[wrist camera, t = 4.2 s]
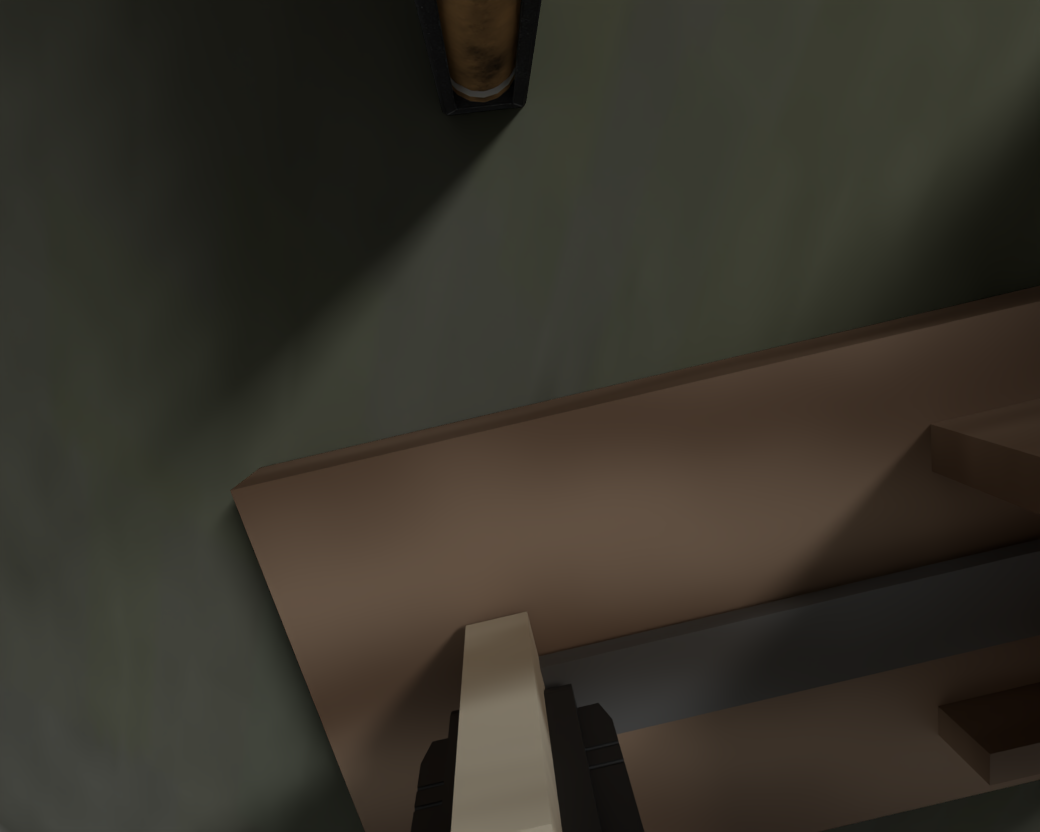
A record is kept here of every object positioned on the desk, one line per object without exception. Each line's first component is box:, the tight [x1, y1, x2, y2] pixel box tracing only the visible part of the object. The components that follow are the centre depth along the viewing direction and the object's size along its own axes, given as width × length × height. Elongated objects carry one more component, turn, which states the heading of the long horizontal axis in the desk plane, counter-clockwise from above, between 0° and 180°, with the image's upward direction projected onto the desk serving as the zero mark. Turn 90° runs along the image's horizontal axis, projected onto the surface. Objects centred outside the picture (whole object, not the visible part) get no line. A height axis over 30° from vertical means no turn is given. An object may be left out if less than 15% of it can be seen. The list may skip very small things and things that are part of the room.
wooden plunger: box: [451, 539, 1040, 832], centre depth 10 cm, size 6×21×5 cm, turn 103°
